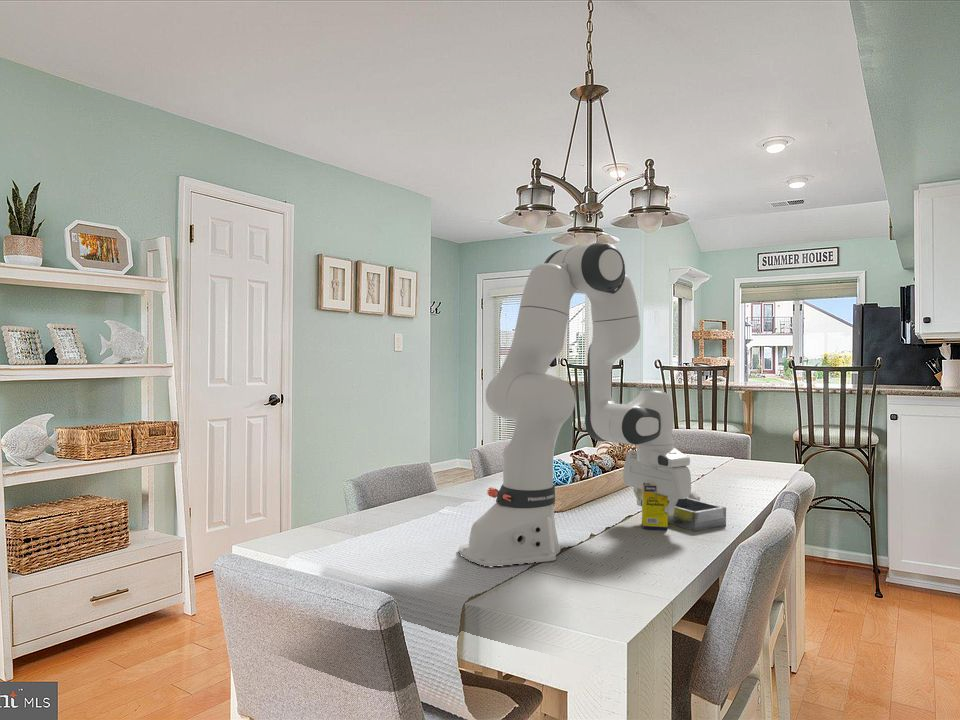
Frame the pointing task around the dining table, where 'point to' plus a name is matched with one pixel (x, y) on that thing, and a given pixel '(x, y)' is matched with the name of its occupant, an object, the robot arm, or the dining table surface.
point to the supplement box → (653, 508)
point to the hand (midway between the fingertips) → (655, 509)
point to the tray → (697, 515)
